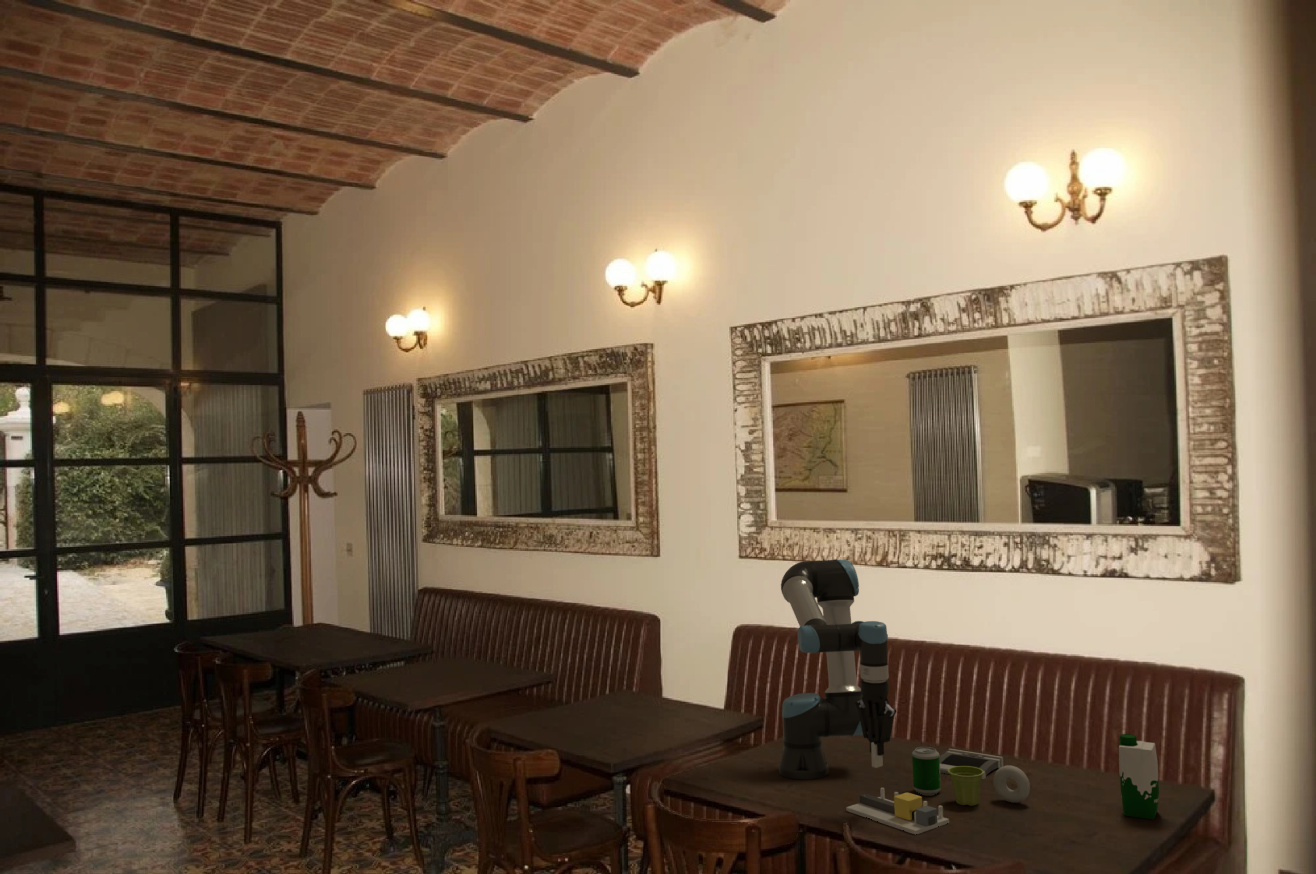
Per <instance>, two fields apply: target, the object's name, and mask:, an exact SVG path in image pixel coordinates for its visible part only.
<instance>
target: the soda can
mask: <svg viewBox="0 0 1316 874" xmlns="http://www.w3.org/2000/svg"><path fill="white" fill-rule="evenodd" d="M911 756H912V757H911V759H912V761H911V762H912V778H913V779H912V780H913V781H912V784H913V790H914V791H915V792H916V793H917V792H918V793H917V794H919V793H920V794H919V795H921V794H922V796H936V795H938V794H939V792H940V791H941V789H942V786H941V773H940V759H939V756H940V753H939V751H937V749H936V748H934V747H930V746H919V747H916V748H915V749H914V750H913V751H912V752H911ZM937 793H938V794H937ZM935 794H936V795H935Z"/></svg>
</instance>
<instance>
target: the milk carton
mask: <svg viewBox="0 0 1316 874" xmlns="http://www.w3.org/2000/svg"><path fill="white" fill-rule="evenodd" d="M1118 744H1119V746H1118V755H1119V756H1118V763H1119V781H1120V782H1119V783H1120V784H1119V785H1120V797H1121V803H1122V809H1123V815H1124V817H1125V816H1126V817H1133V818H1138V819H1139V818H1140V819H1149V820H1155V818H1156V815H1157V812H1158V806H1159V798H1160V785H1159V782H1160V781H1159V768H1158V767H1159V766H1158V763H1159V762H1158V756H1157V747H1156V743H1155V742H1150V741H1149V742H1147V741H1145V740H1137V735H1135V734H1131V733H1122V734H1119V743H1118Z"/></svg>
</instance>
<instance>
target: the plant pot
mask: <svg viewBox="0 0 1316 874" xmlns="http://www.w3.org/2000/svg"><path fill="white" fill-rule="evenodd" d="M948 773H949V774H948V775H949V776H950V779H951V782H952V783H951V784H952V788H953V793H954V794H953V795H954V798H955V803H956V804H958V805H961V806H967V805H968V806H970V807H971V806H973V807H974V806H978V805H979V803H980V798H981V797H980V793H981V784H982V780H981V779H982V775H983V773H984V771H983V770H982V769H980V768H976V767H971V766H956V767H952V768H949V769H948Z"/></svg>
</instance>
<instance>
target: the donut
mask: <svg viewBox="0 0 1316 874" xmlns="http://www.w3.org/2000/svg"><path fill="white" fill-rule="evenodd" d="M1009 779H1012V780H1014V781H1015V783H1016V788H1015V789H1014V790H1013V789H1011V788H1009V787H1008V785H1007V780H1009ZM992 780H993V782H992V783H993V787H994V790H995V792H996V793H997V795H998V796H999V797H1000V798H1001V799H1003V800H1004V801H1005V802H1009V803H1010V802H1011V804H1018V803H1021V802H1023V801H1024V800H1026V799H1027V798H1028V796H1029V794H1030V789H1031V784H1030V780H1029V778H1028V776H1027V774H1026V773H1025V772H1024V771H1023V770H1022V769H1020V768H1019V767H1017V766H1014V765H1003V767H1000V768H997V770H996V771H995V773H994V775H993V779H992Z"/></svg>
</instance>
